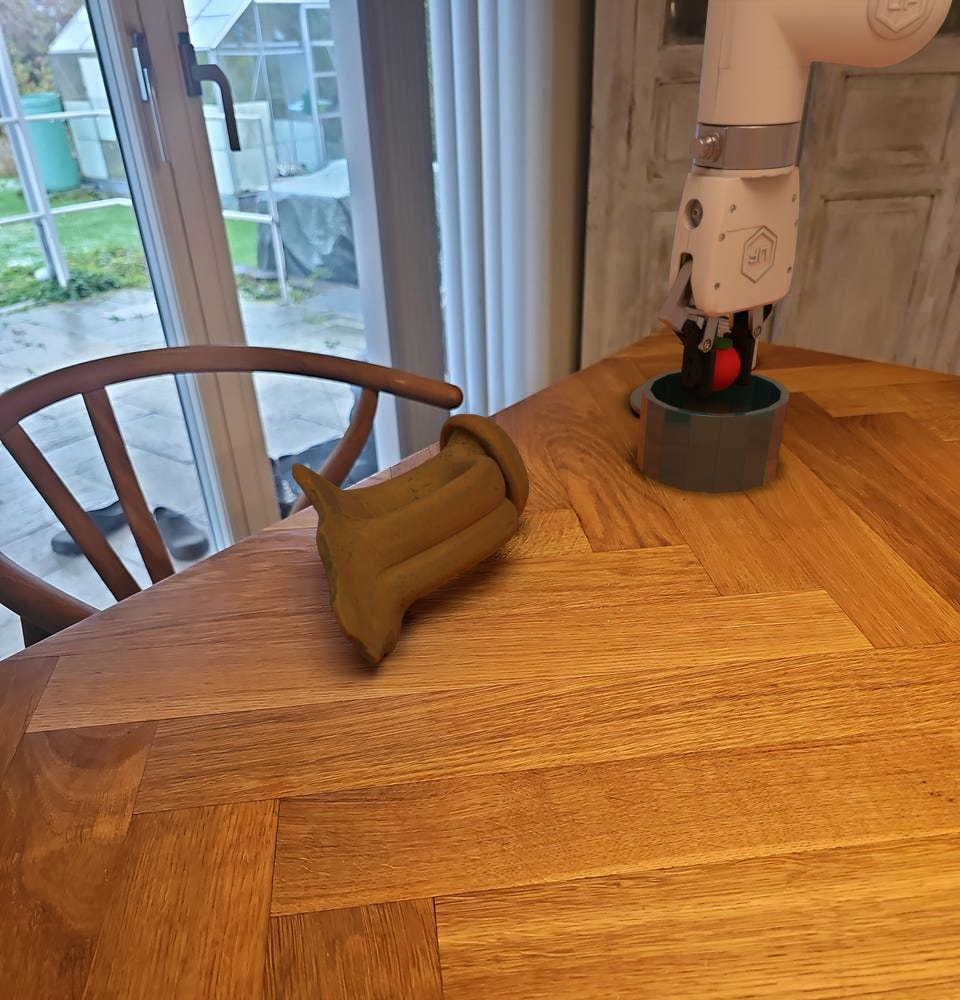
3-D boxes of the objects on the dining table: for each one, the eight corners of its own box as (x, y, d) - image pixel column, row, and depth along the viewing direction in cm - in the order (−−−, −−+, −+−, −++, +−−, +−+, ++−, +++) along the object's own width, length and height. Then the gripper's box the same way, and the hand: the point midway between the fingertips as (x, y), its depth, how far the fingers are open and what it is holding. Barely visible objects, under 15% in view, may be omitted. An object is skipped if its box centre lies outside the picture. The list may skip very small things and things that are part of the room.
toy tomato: (729, 380, 79) (735, 332, 76) (742, 395, 75) (750, 346, 73) (685, 382, 78) (690, 334, 76) (696, 398, 75) (702, 348, 73)
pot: (750, 439, 86) (761, 363, 82) (795, 494, 76) (811, 411, 72) (625, 447, 86) (630, 371, 82) (654, 503, 76) (661, 420, 72)
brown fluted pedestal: (189, 492, 63) (428, 373, 72) (270, 642, 69) (482, 515, 78) (282, 507, 48) (570, 353, 57) (375, 697, 54) (625, 531, 62)
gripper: (701, 165, 60) (674, 422, 70) (857, 143, 67) (812, 379, 78) (627, 156, 65) (613, 397, 76) (780, 136, 72) (747, 358, 83)
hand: (714, 385), depth 77 cm, fingers closed on toy tomato, 3 cm apart
